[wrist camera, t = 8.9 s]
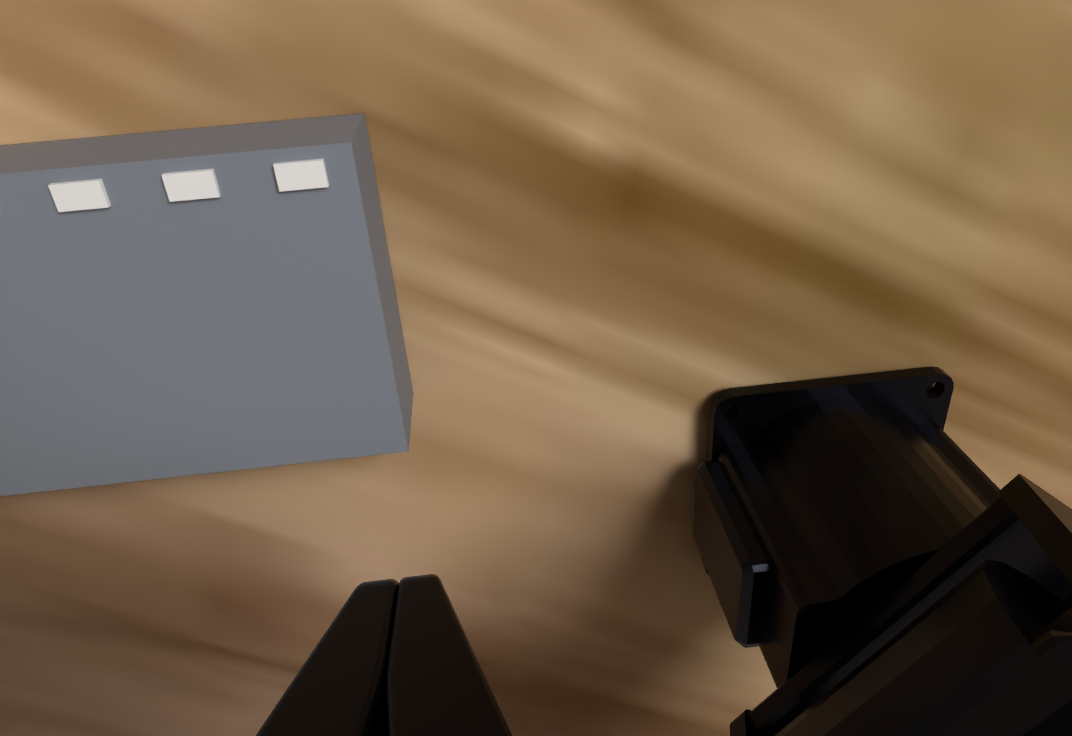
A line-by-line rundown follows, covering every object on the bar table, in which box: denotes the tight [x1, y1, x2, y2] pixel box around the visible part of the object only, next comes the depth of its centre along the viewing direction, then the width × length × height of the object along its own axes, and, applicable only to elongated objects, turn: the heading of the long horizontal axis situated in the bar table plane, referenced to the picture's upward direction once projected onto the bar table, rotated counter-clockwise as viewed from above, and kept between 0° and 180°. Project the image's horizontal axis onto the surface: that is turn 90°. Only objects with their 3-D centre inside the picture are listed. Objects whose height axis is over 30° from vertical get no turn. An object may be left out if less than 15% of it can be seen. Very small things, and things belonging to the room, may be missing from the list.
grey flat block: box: [0, 113, 413, 496], centre depth 17 cm, size 14×7×3 cm, turn 94°
